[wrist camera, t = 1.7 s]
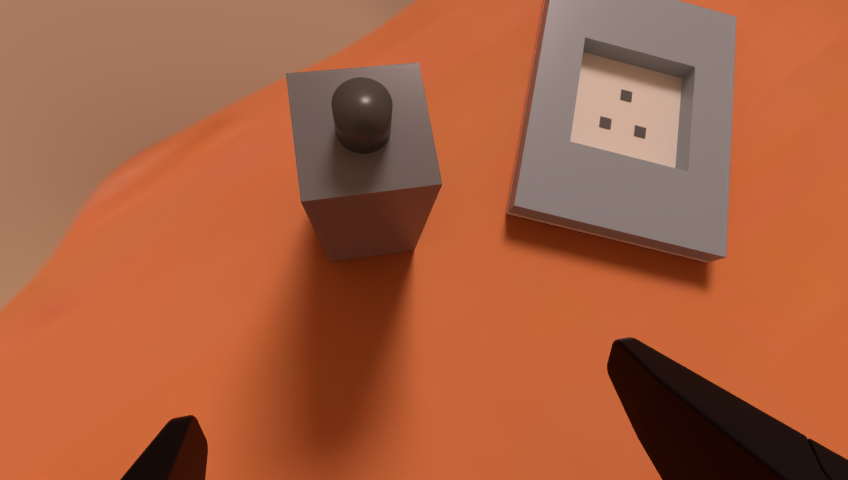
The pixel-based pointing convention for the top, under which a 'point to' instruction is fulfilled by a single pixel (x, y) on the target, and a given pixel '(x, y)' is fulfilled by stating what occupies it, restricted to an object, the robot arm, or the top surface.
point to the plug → (364, 157)
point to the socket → (630, 124)
